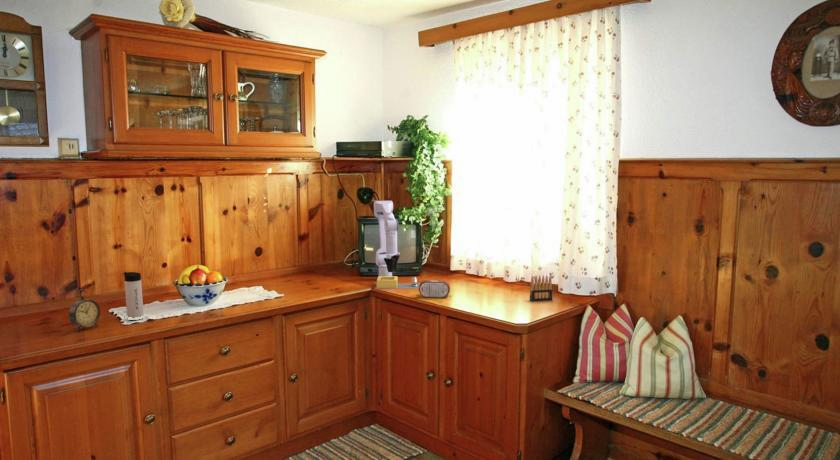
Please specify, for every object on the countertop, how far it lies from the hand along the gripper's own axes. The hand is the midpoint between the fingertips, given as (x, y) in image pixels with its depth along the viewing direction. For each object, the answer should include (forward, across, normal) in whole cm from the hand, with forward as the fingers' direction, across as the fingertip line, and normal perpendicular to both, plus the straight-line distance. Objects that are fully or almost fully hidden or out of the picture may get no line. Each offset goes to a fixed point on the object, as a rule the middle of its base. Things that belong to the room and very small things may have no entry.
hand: (392, 270), depth 295 cm
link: (+9, +6, +4) cm, 12 cm away
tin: (+11, -10, -23) cm, 27 cm away
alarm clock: (+12, -85, +105) cm, 135 cm away
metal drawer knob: (+9, +9, -10) cm, 16 cm away
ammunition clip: (+12, -7, -73) cm, 75 cm away
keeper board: (+10, +8, -3) cm, 13 cm away
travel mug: (+11, -69, +95) cm, 118 cm away
